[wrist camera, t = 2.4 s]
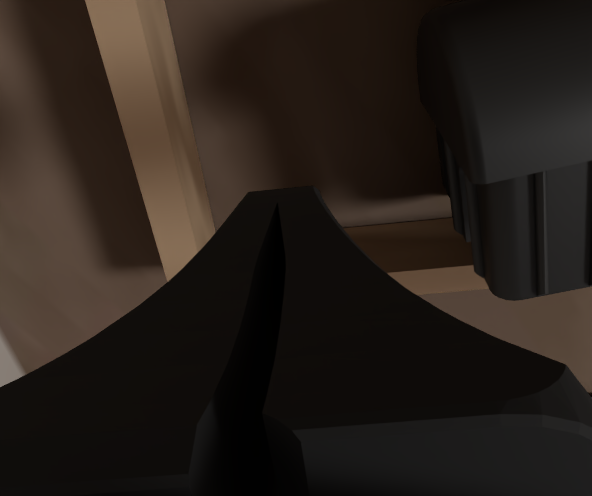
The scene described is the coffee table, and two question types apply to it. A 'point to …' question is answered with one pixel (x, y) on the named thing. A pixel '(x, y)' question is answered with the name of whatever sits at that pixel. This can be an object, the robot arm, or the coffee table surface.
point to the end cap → (515, 136)
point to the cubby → (188, 173)
